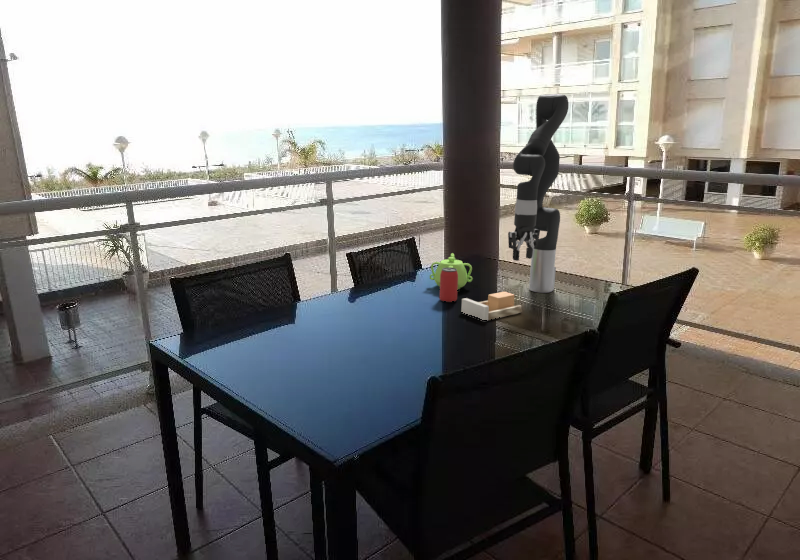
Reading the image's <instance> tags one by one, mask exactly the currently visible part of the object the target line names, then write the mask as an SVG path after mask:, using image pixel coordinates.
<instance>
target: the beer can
mask: <svg viewBox="0 0 800 560" xmlns="http://www.w3.org/2000/svg"><path fill="white" fill-rule="evenodd" d="M439 289H440V290H439V300H440V301H441V302H444V301H446V302H445V303H453V302H452V301H454V302H456V301H457V300H458V291H457V290H458V273H457V269H455V268H443V269H442V271H441V274H440V286H439Z"/></svg>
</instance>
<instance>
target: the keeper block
mask: <svg viewBox="0 0 800 560" xmlns="http://www.w3.org/2000/svg"><path fill="white" fill-rule="evenodd" d="M487 300H488V306H489V312H490V311H494V310H499V309H503V308H508V307H512V306H515V294H513V293H510V292H507V291H506V290H505V291H500V292H496V293H495V292H494V293H490V294H488V297H487Z"/></svg>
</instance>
